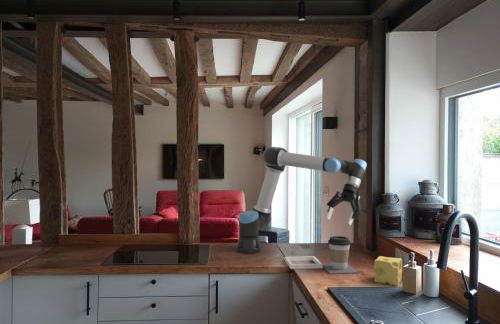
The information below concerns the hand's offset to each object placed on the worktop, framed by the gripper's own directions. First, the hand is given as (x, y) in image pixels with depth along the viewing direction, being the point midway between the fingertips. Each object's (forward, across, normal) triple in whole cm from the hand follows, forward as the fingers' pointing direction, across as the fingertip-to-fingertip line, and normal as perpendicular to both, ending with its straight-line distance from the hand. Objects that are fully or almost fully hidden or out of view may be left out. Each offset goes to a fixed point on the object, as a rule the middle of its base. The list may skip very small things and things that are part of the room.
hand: (338, 221), depth 199 cm
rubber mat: (+23, -10, -1) cm, 25 cm away
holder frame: (+28, +8, +4) cm, 29 cm away
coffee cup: (+23, -10, 0) cm, 25 cm away
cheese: (+21, -35, 0) cm, 41 cm away
